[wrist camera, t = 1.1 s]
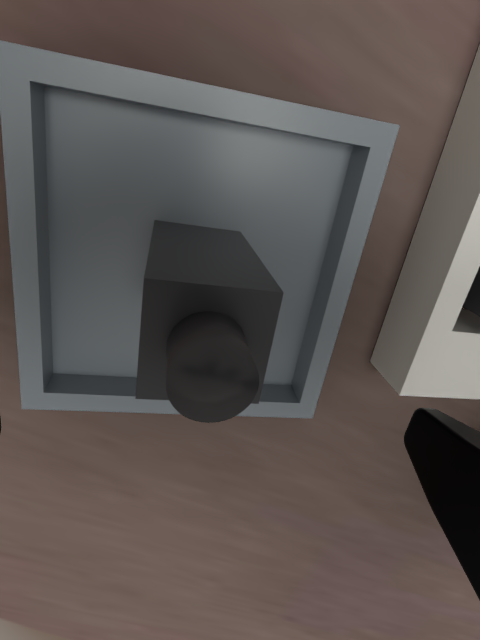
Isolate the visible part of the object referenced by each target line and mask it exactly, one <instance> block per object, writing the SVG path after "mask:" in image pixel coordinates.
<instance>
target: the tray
mask: <svg viewBox="0 0 480 640" xmlns="http://www.w3.org/2000/svg"><path fill="white" fill-rule="evenodd" d="M0 114H1V128H2V142H3V155H4V169H5V183H6V197H7V211H8V225H9V239H10V252H11V266H12V280H13V294H14V308H15V322H16V335H17V349H18V363H19V377H20V391H21V405H22V409H39V410H69V411H100V412H131V413H161V414H180V413H179V412H178V411H177V410H176V409H175V408H174V407H173V406H172V404H171V403H170V401H169V400H148V399H135V396H136V382H137V368H138V354H139V339H140V325H141V311H142V296H143V282H144V274H145V269H146V264H147V258H148V253H149V247H150V242H151V237H152V231H153V226H154V221H155V220H159V221H166V222H174V223H181V224H188V225H196V226H203V227H211V228H218V229H225V230H233V231H240V232H241V233H242V234H243V236H244V237H245V239H246V240H247V241H248V243H249V244H250V246H251V247H252V248H253V250H254V251H255V253H256V254H257V256H258V257H259V258H260V260H261V261H262V263H263V264H264V265H265V267H266V268H267V270H268V271H269V272H270V274H271V275H272V277H273V278H274V280H275V281H276V282H277V284H278V285H279V287H280V288H281V289H282V291H283V292H284V294H283V298H282V303H281V307H280V311H279V316H278V320H277V325H276V329H275V334H274V338H273V343H272V347H271V351H270V356H269V360H268V365H267V369H266V374H265V378H264V383H263V387H262V391H261V396H260V400H259V404H250V405H249V406H248V407H247V408H246V409H245V410H244V411H242V412H241V413H240V414H238V415H236V416H253V417H284V418H313V415H314V412H315V409H316V405H317V402H318V398H319V395H320V392H321V388H322V385H323V382H324V378H325V375H326V372H327V368H328V365H329V362H330V358H331V355H332V351H333V348H334V345H335V341H336V338H337V335H338V331H339V328H340V325H341V321H342V318H343V315H344V311H345V308H346V304H347V301H348V298H349V294H350V291H351V288H352V284H353V281H354V278H355V274H356V271H357V268H358V264H359V261H360V257H361V254H362V251H363V247H364V244H365V241H366V237H367V234H368V231H369V227H370V224H371V221H372V217H373V214H374V210H375V207H376V204H377V200H378V197H379V194H380V190H381V187H382V184H383V180H384V177H385V174H386V170H387V167H388V163H389V160H390V157H391V153H392V150H393V147H394V143H395V140H396V137H397V133H398V130H399V127H400V125H396V124H391V123H386V122H382V121H377V120H372V119H368V118H363V117H358V116H354V115H349V114H344V113H339V112H335V111H330V110H325V109H321V108H316V107H311V106H306V105H302V104H297V103H292V102H288V101H283V100H278V99H274V98H269V97H264V96H259V95H255V94H250V93H245V92H241V91H236V90H231V89H226V88H222V87H217V86H212V85H208V84H203V83H198V82H194V81H189V80H184V79H179V78H175V77H170V76H165V75H161V74H156V73H151V72H146V71H142V70H137V69H132V68H128V67H123V66H118V65H114V64H109V63H104V62H99V61H95V60H90V59H85V58H81V57H76V56H71V55H66V54H62V53H57V52H52V51H48V50H43V49H38V48H34V47H29V46H24V45H19V44H15V43H10V42H5V41H1V40H0Z"/></svg>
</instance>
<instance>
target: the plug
mask: <svg viewBox="0 0 480 640" xmlns="http://www.w3.org/2000/svg"><path fill="white" fill-rule="evenodd" d="M283 294H284V292H283V291H282V289H281V288H280V287H279V285H278V284H277V282H276V281H275V280H274V278H273V277H272V275H271V274H270V272H269V271H268V270H267V268H266V267H265V265H264V264H263V263H262V261H261V260H260V258H259V257H258V256H257V254H256V253H255V251H254V250H253V248H252V247H251V246H250V244H249V243H248V241H247V240H246V239H245V237H244V236H243V234H242V233H241V232H240V231H233V230H225V229H218V228H211V227H203V226H196V225H188V224H181V223H174V222H166V221H159V220H155V221H154V226H153V231H152V237H151V242H150V247H149V253H148V258H147V264H146V269H145V274H144V282H143V296H142V311H141V325H140V339H139V354H138V368H137V382H136V396H135V399H148V400H169V401H170V403H171V404H172V406H173V407H174V408H175V409H176V410H177V411H178V412H179V413H180V414H182V415H183V416H185V417H187V418H189V419H191V420H195V421H199V422H207V423H209V422H220V421H224V420H227V419H230V418H232V417H234V416H236V415H238V414H240V413H241V412H242V411H244V410H245V409H246V408H247V407H248V406H249V405H250V404H259V400H260V396H261V391H262V387H263V383H264V378H265V374H266V369H267V365H268V360H269V356H270V351H271V347H272V343H273V338H274V334H275V329H276V325H277V320H278V316H279V311H280V307H281V303H282V298H283Z"/></svg>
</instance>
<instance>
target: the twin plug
mask: <svg viewBox="0 0 480 640" xmlns="http://www.w3.org/2000/svg"><path fill="white" fill-rule="evenodd" d="M462 307H464V308H466V309H468V310H469V311H471V312H473V313H474V314H476V315H478V316H479V317H480V267H479V269H478V271H477V274H476V276H475V278H474V281H473V283H472V285H471V288H470V290H469V292H468V295H467V297H466V299H465V302H464V304H463V306H462Z"/></svg>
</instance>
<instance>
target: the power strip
mask: <svg viewBox="0 0 480 640" xmlns="http://www.w3.org/2000/svg"><path fill="white" fill-rule="evenodd" d="M479 267H480V45H479V47H478V50H477V53H476V56H475V59H474V62H473V65H472V68H471V71H470V73H469V76H468V79H467V82H466V85H465V88H464V91H463V94H462V97H461V100H460V102H459V105H458V108H457V111H456V114H455V117H454V120H453V123H452V126H451V128H450V131H449V134H448V137H447V140H446V143H445V146H444V149H443V152H442V154H441V157H440V160H439V163H438V166H437V169H436V172H435V175H434V178H433V180H432V183H431V186H430V189H429V192H428V195H427V198H426V201H425V204H424V206H423V209H422V212H421V215H420V218H419V221H418V224H417V227H416V230H415V232H414V235H413V238H412V241H411V244H410V247H409V250H408V253H407V256H406V259H405V261H404V264H403V267H402V270H401V273H400V276H399V279H398V282H397V285H396V287H395V290H394V293H393V296H392V299H391V302H390V305H389V308H388V311H387V313H386V316H385V319H384V322H383V325H382V328H381V331H380V334H379V337H378V339H377V342H376V345H375V348H374V351H373V354H372V357H371V360H370V362H371V363H372V365H373V366H374V367H375V368H376V369H377V370H378V372H379V373H380V374H381V375H382V376H383V377H384V378H385V380H386V381H387V382H388V383H389V384H390V385H391V386H392V388H393V389H394V390H395V391H396V392H397V393H398V394H399V395H400V396H421V397H441V398H462V399H480V317H479V316H478V315H476V314H474V313H473V312H471V311H469V310H464V309H462V306H463V304H464V302H465V299H466V297H467V295H468V292H469V290H470V288H471V285H472V283H473V281H474V278H475V276H476V274H477V271H478V269H479Z"/></svg>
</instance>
